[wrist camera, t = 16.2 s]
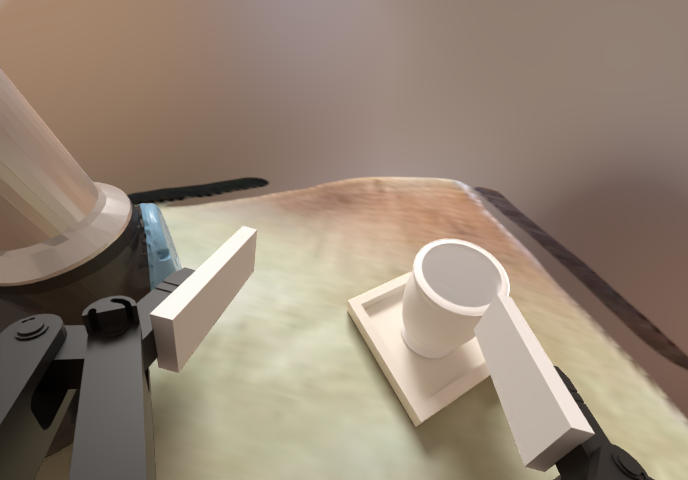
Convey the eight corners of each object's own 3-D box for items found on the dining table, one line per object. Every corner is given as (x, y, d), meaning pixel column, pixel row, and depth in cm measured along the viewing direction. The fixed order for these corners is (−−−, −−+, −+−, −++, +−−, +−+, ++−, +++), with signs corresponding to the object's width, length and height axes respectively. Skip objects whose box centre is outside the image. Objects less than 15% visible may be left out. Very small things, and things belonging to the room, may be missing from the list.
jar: (410, 289, 47) (433, 226, 36) (472, 321, 43) (518, 261, 32) (381, 341, 40) (397, 283, 29) (450, 383, 37) (498, 335, 26)
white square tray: (347, 310, 45) (347, 300, 43) (432, 270, 51) (437, 259, 49) (415, 427, 34) (421, 422, 32) (514, 358, 40) (525, 350, 38)
